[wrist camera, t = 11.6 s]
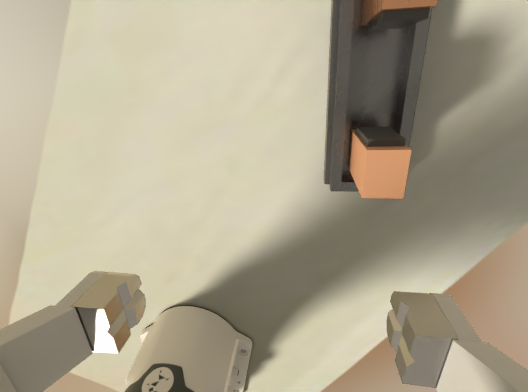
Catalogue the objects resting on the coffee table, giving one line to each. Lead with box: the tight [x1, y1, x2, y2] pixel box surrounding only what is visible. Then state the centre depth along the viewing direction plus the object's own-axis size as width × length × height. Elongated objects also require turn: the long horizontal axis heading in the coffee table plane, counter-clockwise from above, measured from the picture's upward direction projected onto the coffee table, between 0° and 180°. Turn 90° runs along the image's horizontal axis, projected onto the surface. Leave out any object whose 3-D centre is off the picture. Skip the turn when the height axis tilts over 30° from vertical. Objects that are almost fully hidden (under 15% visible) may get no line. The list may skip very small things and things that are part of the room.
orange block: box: [348, 127, 412, 199], centre depth 26 cm, size 5×3×8 cm
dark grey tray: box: [324, 0, 438, 191], centre depth 24 cm, size 20×8×10 cm, turn 3°
